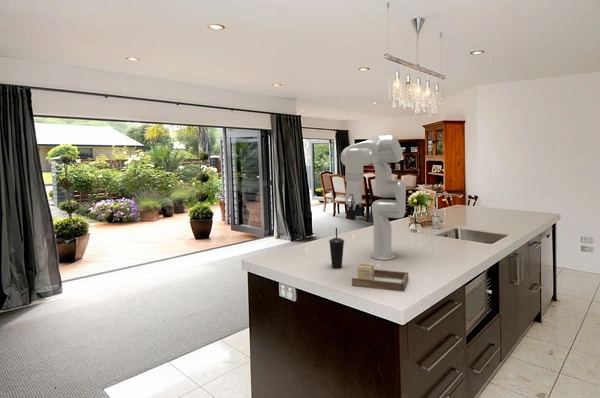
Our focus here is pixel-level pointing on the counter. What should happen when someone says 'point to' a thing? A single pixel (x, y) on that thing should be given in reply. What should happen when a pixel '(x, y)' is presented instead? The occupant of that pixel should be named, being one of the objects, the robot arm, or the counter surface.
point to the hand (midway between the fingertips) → (354, 217)
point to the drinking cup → (336, 251)
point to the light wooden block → (365, 271)
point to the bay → (383, 284)
